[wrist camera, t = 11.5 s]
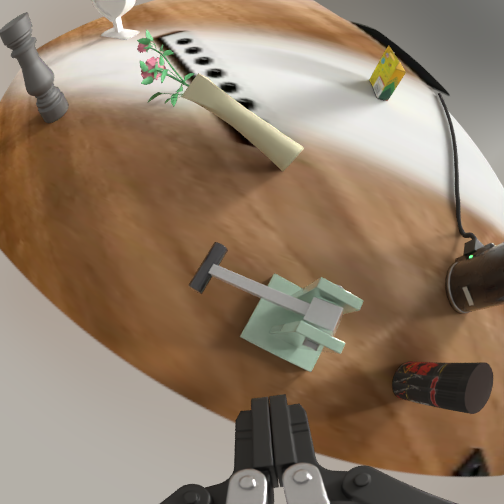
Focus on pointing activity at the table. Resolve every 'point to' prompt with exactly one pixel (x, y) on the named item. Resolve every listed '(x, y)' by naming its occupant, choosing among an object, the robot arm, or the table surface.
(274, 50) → the table surface
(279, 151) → the flower vase
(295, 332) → the bracket
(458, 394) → the deodorant
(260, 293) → the lever
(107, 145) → the table surface
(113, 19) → the heart sculpture
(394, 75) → the crayon box
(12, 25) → the candle holder
